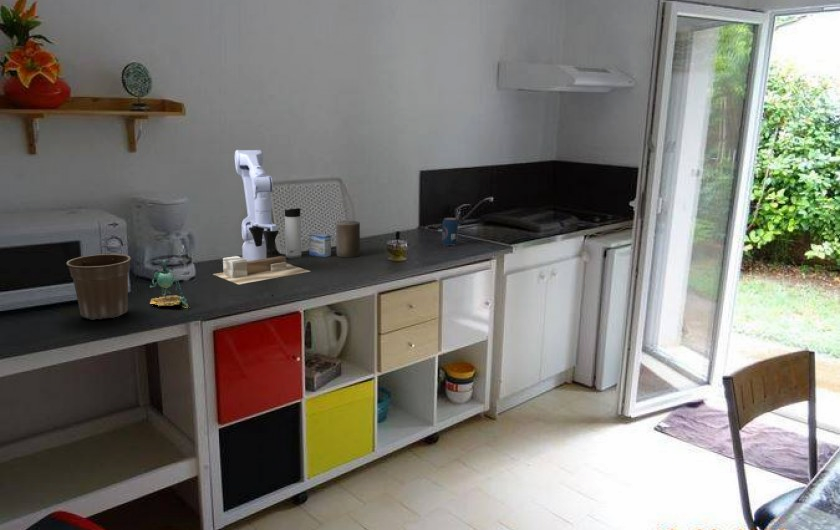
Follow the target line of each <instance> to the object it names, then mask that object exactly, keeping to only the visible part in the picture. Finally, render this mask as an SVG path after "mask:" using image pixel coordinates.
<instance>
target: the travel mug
mask: <svg viewBox="0 0 840 530" xmlns="http://www.w3.org/2000/svg"><path fill="white" fill-rule="evenodd" d="M301 218H302V216H301V208H300V207H299V208H289V209H284V237H285V239H284V244H285V245H284V246H285V248H284V249H285V257H286V259H287V258H288V259H297V258H301V257H302V219H301Z"/></svg>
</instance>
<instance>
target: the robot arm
mask: <svg viewBox="0 0 840 530" xmlns="http://www.w3.org/2000/svg"><path fill="white" fill-rule="evenodd" d="M263 156H264V155H263V152H262V151H261V149H256V150H255V149H247V150H245V149H244V150H243V149H236V150H235V151H234V165H235V166H234V167H235V171H236V174H237V175H239V176H240V177H241V178H242V182H243V190H244V197H245V205H246V212H247V216H246V217H245V218H243V220H242V222H241V236H242V237H241V239H242V240H243V241H244V242H243V244H242V246H241V253H242V258H245V259H247V261H252V260H259V259H265V258H267V251H272V250H274V247H275V243H276V239H277V236H278V234H279V232H280V231H279V230H278V225H277V224H274V223H273V221H272V192H273V184H274V183H273V179H272V176H271V175H267V172H266V170H265V168H264V167H263V164H264V163H263V162H264V157H263Z"/></svg>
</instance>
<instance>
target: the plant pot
mask: <svg viewBox="0 0 840 530" xmlns="http://www.w3.org/2000/svg"><path fill="white" fill-rule="evenodd" d="M131 260H132V259H131V256H129V255H127V254H121V253H106V254H105V253H103V254H92V255H85V256H79V257H76V258H72V259H70V260H67V262H66V266H68V269H69V273H70V277H71V279H72V280H73V285H74V291H75V294H76V299H77V302H78V308H79V309H78V310H79V315H80V316H81V315H82V316H85V317H91V318H104V319H108V318H107V317H114V316H118V315H122V314H124V313H126V312H127V311H128V310H129V308H128V307H129V305H128V303H129V302H128V301H129V296H128V295H129V294H128V292H129V289H128V288H129V282H128V281H129V279H128V277H129V276H128V275H129V272H130V269H129V268H130V261H131ZM128 312H129V311H128ZM128 312H127V313H128ZM127 313H126V314H127Z"/></svg>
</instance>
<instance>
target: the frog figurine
mask: <svg viewBox="0 0 840 530" xmlns="http://www.w3.org/2000/svg"><path fill="white" fill-rule="evenodd" d="M158 271H159V270H158V269H155V270H153V276H154V278H152V280H151V282H152V284H153V286H152V285H149V288H150V289H151V288H155V287H156V286H157V285H158V286H159V287H161V294H162V296H158V297H159V298H157V297H154V298H153V297H152V298H151V299H150V302H149V304H155V305H158V306H157V307H162V306H163V307H166V306H170V307H171V306H175V305H178V306H180V305H181V304H182V305H181V306H182V307H184V308H188V307H189V304H188V302H187V299H186V298H185V295H183V292H180V295H171V292H170V291H169V290H168V288H170V287H171V286H173V284H174V282H175V283H176V288H175V292H177V290H178V286H179V291H181V290H182V288H181V284H180V282H179V280H177V279H175V277H174V274H173V271H174V269H173V268H172V267H168V268H167V261H166V260H165V259H164V260H162V270H160V272H158ZM155 279H156V281H155ZM167 293H169V294H170V295H167ZM189 308H190V307H189Z"/></svg>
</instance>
